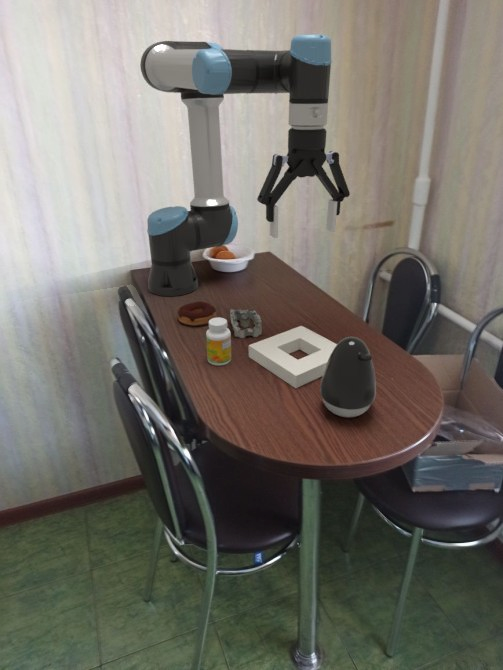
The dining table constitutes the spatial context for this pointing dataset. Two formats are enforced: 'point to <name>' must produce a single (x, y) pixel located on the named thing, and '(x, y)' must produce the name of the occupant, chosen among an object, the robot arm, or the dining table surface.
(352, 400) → the pump dispenser
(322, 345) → the socket holder
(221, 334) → the supplement bottle
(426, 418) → the dining table surface
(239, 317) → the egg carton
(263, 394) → the dining table surface
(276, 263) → the dining table surface
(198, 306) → the donut
